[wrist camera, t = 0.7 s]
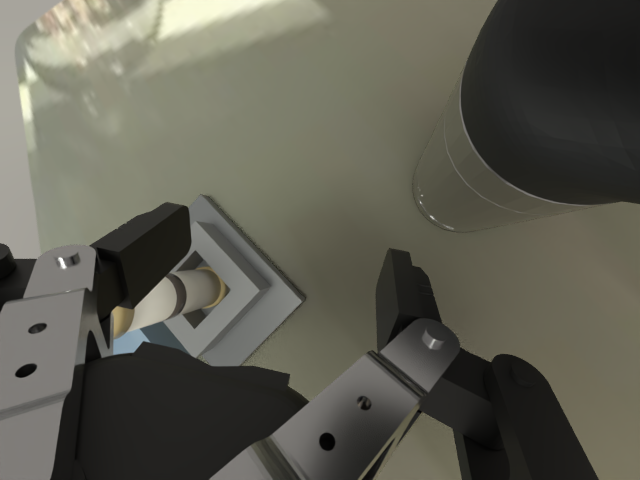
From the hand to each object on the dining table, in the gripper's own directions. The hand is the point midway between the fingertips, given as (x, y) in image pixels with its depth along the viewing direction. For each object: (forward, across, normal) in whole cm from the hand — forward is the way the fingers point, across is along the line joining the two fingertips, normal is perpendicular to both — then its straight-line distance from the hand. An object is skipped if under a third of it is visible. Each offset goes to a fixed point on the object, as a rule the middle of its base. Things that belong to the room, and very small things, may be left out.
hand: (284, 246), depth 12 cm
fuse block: (+15, +10, +16) cm, 24 cm away
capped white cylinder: (+13, +10, +16) cm, 23 cm away
